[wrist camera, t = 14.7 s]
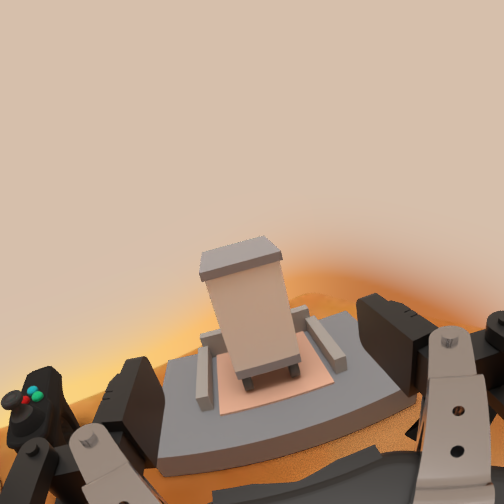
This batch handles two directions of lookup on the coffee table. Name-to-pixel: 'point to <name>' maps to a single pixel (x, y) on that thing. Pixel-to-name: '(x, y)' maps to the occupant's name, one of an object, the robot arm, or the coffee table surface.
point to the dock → (272, 399)
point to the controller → (39, 411)
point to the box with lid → (252, 307)
